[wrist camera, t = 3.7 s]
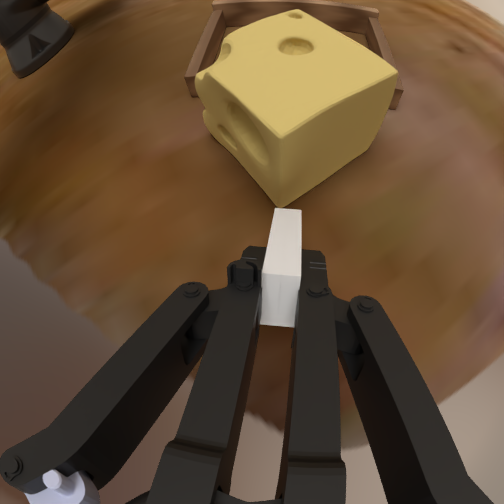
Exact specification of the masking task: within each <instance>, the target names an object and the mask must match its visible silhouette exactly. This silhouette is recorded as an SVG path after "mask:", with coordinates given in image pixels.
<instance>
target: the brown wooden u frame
mask: <svg viewBox="0 0 504 504" xmlns="http://www.w3.org/2000/svg"><path fill="white" fill-rule="evenodd" d="M212 7H213V12H212V14H211V16H210V18H209V20H208V23H207V25H206V27H205V29H204V31H203V33H202V36H201V38H200V40H199V42H198V45H197V47H196V49H195V52H194V54H193V56H192V59H191V61H190V64H189V66H188V69H187V71H186V74H185V76H184V78H185V80H186V83H187V86H188V88H189V91H190V93H191V96H192V97H199V96H198V94H197V91H196V88H195V76H196V74H197V73H199V72H201V71H203V70H205V69H207V68H208V67H210V66H212V65H213V64H214V60H215V57H216V54H217V52H218V49H219V46H220V43H221V40H222V37H223V34H224V32H225V29H226V27H231V26H247V25H249V24H251V23H254V22H256V21H258V20H261V19H264V18H267V17H270V16H274V15H277V14H280V13H284V12H287V11H291V10H295V9H299V10H301V11H303V12H305V13H307V14H309V15H310V16H312V17H314V18H316V19H317V20H319V21H321V22H323V23H324V24H326V25H328V26H329V27H331V28H333V29H335V30H341V31H348V32H355V33H361V34H365V35H366V38H367V42H368V45H369V48H370V51H372V52H373V53H375V54H376V55H378V56H379V57H381V58H382V59H384V60H385V61H386V62H388V63H389V64H390V65H391V66H392V67H394V68H395V69H396V70H397V68H396V65H395V62H394V59H393V56H392V53H391V51H390V48H389V45H388V43H387V40H386V37H385V35H384V32H383V30H382V28H381V25H380V23H379V21H378V16H379V12H378V10H377V9H374V8H369V7H364V6H358V5H352V4H346V3H339V2H331V1H321V0H218V1H214V2H213V3H212ZM403 91H404V90H403V86H402V83H401V80H400V77H399V74H398V76H397V81H396V86H395V90H394V94H393V97H392V100H391V103H390V105H389V108H388V109H393V110H395V109H396V107H397V105H398V102H399V100H400V98H401V95H402V93H403Z"/></svg>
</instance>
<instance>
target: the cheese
mask: <svg viewBox="0 0 504 504" xmlns="http://www.w3.org/2000/svg"><path fill="white" fill-rule="evenodd" d="M397 76H398V71H397V70H396V69H395V68H394V67H392V66H391V65H390V64H389V63H388V62H386V61H385V60H384V59H382V58H381V57H379V56H378V55H376V54H375V53H373V52H372V51H370V50H369V49H367V48H366V47H364V46H362V45H361V44H359V43H357V42H355V41H354V40H352V39H350V38H348V37H347V36H345V35H343V34H341V33H340V32H338V31H336V30H335V29H333V28H331V27H329V26H328V25H326V24H324V23H323V22H321V21H319V20H317V19H316V18H314V17H312V16H310V15H309V14H307V13H305V12H303V11H301V10H299V9H295V10H291V11H287V12H284V13H280V14H277V15H274V16H270V17H267V18H264V19H261V20H258V21H256V22H254V23H251V24H249V25H247V26H244V27H242V28H240V29H238V30H236V31H234V32H232V33H230V34H229V35H228V36H227V37H225V38H224V40H223V43H222V45H221V52H220V55H219V57H218V59H217V61H216V62H215V63H214V64H213V65H212V66H210V67H208V68H207V69H205V70H203V71H201V72H199V73H197V74H196V76H195V88H196V91H197V94H198V96H199V98H200V99H201V101H202V103H203V105H204V107H205V110H204V111H203V119H204V123H205V125H206V127H207V129H208V130H209V131H210V133H211V134H212V135H213V137H214V138H215V139H216V140H217V141H218V142H219V143H220V144H222V145H223V146H224V147H225V148H226V149H227V150H228V151H229V152H230V153H231V154H232V155H233V156H234V157H235V158H236V159H237V160H238V161H239V162H240V164H241V165H242V166H243V167H244V168H245V169H246V171H247V172H248V173H249V174H250V175H251V176H252V178H253V179H254V180H255V181H256V182H257V183H258V185H259V186H260V187H261V188H262V189H263V190H264V192H265V193H266V194H267V195H268V197H269V198H270V199H271V200H272V202H273V203H274V204H275V205H276V206H277V207H278V208H283V207H285V206H287V205H288V204H290V203H291V202H293V201H294V200H296V199H297V198H299V197H300V196H302V195H303V194H305V193H306V192H308V191H309V190H311V189H312V188H314V187H315V186H317V185H318V184H319V183H321V182H322V181H324V180H325V179H327V178H328V177H329V176H331V175H332V174H334V173H335V172H336V171H338V170H339V169H341V168H342V167H343V166H345V165H346V164H347V163H349V162H350V161H352V160H353V159H355V158H356V157H358V156H359V155H361V154H362V153H364V152H365V151H367V150H368V148H369V146H370V145H371V143H372V141H373V140H374V138H375V136H376V134H377V133H378V131H379V129H380V127H381V124H382V122H383V120H384V117H385V115H386V113H387V110H388V108H389V105H390V103H391V100H392V97H393V94H394V90H395V86H396V81H397Z"/></svg>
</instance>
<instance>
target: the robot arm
mask: <svg viewBox="0 0 504 504" xmlns="http://www.w3.org/2000/svg"><path fill="white" fill-rule="evenodd" d="M47 1H49V0H0V44H1V45H2V46H3V47H4V48H5V50H6V53H7V56H8V59H9V62H10V64H11V67H12V71H13V73H14V74H15V75H16V76H17V77H18V78H22V77H25V76H27V75H29V74H30V73H32V72H34V71H35V70H36V69H38V68H39V67H41V66H42V65H43V64H44V63H46V62H47V61H48V60H49V59H50V58H51V57H53V56H54V55H55V54H56V53H57V52H58V51H59V50H60V49H61V48H62V47H63V46H64V45H65V44H66V43H67V42H68V40H69V39H70V38H71V36H72V35H73V33H74V28H73V26H72V25H71V23H70V22H69V21H67V20H64V19H63V18H62V17H61V16H59V15H58V14H57V13H55V12H54V11H52V10H51V9H50V7H49V6H48V4H47ZM227 275H228V285H227V287H225V288H222V289H218V290H210V291H208V288H207V287H206V285H204V284H202V283H200V282H188V283H185V284H182V285H181V286H179V287H178V288H177V289H176V290H175V291H174V292H173V293H172V294H171V295H170V296H169V297H168V298H167V299H166V300H165V301H164V302H163V303H162V304H161V305H160V307H159V308H158V309H157V310H156V311H155V312H154V313H153V314H152V315H151V316H150V317H149V318H148V319H147V320H146V321H145V322H144V323H143V324H142V325H141V326H140V327H139V328H138V329H137V331H136V332H135V333H134V334H133V335H132V336H131V337H130V338H129V339H128V340H127V341H126V342H125V343H124V344H123V345H122V346H121V347H120V349H119V350H118V351H117V352H116V353H115V354H114V355H113V356H112V357H111V358H110V359H109V360H108V361H107V363H106V364H105V365H104V366H103V367H102V368H101V369H100V370H99V371H98V372H97V373H96V374H95V375H94V377H93V378H92V379H91V380H90V381H89V382H88V383H87V384H86V385H85V387H84V388H83V389H82V390H81V391H80V392H79V393H78V394H77V395H76V396H75V397H74V399H73V400H72V401H71V402H70V403H69V404H68V405H67V407H66V408H65V409H64V410H63V411H62V412H61V413H60V415H59V416H58V417H57V418H56V419H55V420H54V421H53V422H52V423H51V425H50V426H49V427H48V428H46V429H44V430H42V431H40V432H39V433H37V434H35V435H33V436H31V437H30V438H28V439H26V440H24V441H22V442H21V443H19V444H17V445H15V446H13V447H11V448H9V449H7V450H6V451H5V452H4V453H3V454H2V456H1V458H0V474H1V475H2V477H3V479H4V480H5V481H6V482H7V483H8V484H9V485H11V486H13V487H15V488H17V489H18V490H20V491H22V492H24V493H25V495H26V496H27V498H28V501H29V502H30V504H100V499H99V498H100V497H99V493H98V490H100V489H101V488H103V487H104V486H105V485H106V484H107V483H108V482H109V481H110V480H111V479H112V478H113V477H114V476H115V475H116V474H117V473H118V472H119V470H120V469H121V468H122V466H123V465H124V464H125V462H126V461H127V460H128V458H129V457H130V456H131V454H132V452H134V450H135V449H136V447H137V446H138V445H139V443H140V442H141V440H142V439H143V438H144V436H145V435H146V434H147V432H148V431H149V430H150V428H151V427H152V425H153V424H154V423H155V421H156V420H157V419H158V417H159V416H160V414H161V413H162V412H163V410H164V409H165V407H166V406H167V405H168V403H169V402H170V400H171V399H172V398H173V396H174V395H175V393H176V392H177V391H178V389H179V388H180V386H181V385H182V383H183V382H184V381H185V379H186V378H187V376H188V375H189V374H190V372H191V371H192V369H193V368H194V366H195V365H196V364H197V362H198V361H199V359H200V358H201V356H202V355H203V357H202V360H201V363H200V366H199V369H198V372H197V375H196V378H195V381H194V384H193V387H192V390H191V393H190V396H189V399H188V402H187V405H186V408H185V411H184V414H183V417H182V420H181V422H180V426H179V429H178V432H177V434H176V437H175V438H174V440H172V441H170V442H169V443H168V444H167V445H166V447H165V449H164V451H163V454H162V457H161V460H160V462H159V465H158V468H157V472H156V474H155V477H154V480H153V483H152V486H151V489H150V491H148V492H145V493H143V494H141V495H140V496H138V497H136V498H134V499H132V500H131V501H129V502H127V503H126V504H345V500H346V499H345V498H346V467H345V463H344V462H343V461H342V459H341V455H340V454H341V435H340V393H339V372H338V357H339V359H340V362H341V365H342V367H343V370H344V373H345V375H346V378H347V381H348V384H349V386H350V389H351V392H352V395H353V398H354V400H355V403H356V406H357V409H358V412H359V415H360V418H361V421H362V423H363V426H364V429H365V432H366V435H367V438H368V441H369V444H370V447H371V450H372V453H373V457H374V459H375V463H376V466H377V469H378V472H379V475H380V479H381V482H382V485H383V488H384V492H385V495H386V499H387V502H388V504H494V503H493V502H492V501H491V500H490V499H489V498H488V497H487V496H486V495H485V494H484V492H483V491H482V490H481V489H480V488H479V487H478V486H477V485H476V484H475V483H474V482H473V480H471V479H470V477H469V476H468V475H467V472H466V470H465V467H464V465H463V462H462V460H461V457H460V455H459V453H458V450H457V448H456V446H455V443H454V441H453V439H452V437H451V434H450V432H449V430H448V428H447V426H446V424H445V422H444V420H443V417H442V415H441V413H440V411H439V409H438V407H437V405H436V403H435V401H434V399H433V397H432V395H431V393H430V391H429V389H428V387H427V385H426V383H425V381H424V379H423V378H422V376H421V374H420V372H419V370H418V368H417V366H416V365H415V363H414V361H413V359H412V357H411V356H410V354H409V352H408V350H407V348H406V347H405V345H404V343H403V341H402V340H401V338H400V336H399V334H398V333H397V331H396V329H395V328H394V326H393V324H392V323H391V321H390V319H389V318H388V316H387V314H386V313H385V311H384V309H383V308H382V306H381V304H380V303H379V302H378V301H377V300H375V299H374V298H372V297H368V296H357V297H354V298H353V299H352V300H351V302H348V301H344V300H341V299H339V298H337V297H335V296H334V295H333V294H332V292H331V289H330V288H329V287H328V279H327V270H326V262H325V256H324V255H323V254H322V253H321V251H315V250H303V249H301V210H295V209H282V208H275V212H274V216H273V221H272V226H271V231H270V236H269V241H268V246H267V247H256V246H249V247H247V248H246V249H245V250H244V251H243V254H242V257H241V259H240V260H237V261H234V262H232V263H230V264H229V265H228V267H227ZM259 324H263V325H273V326H284V327H294V332H293V339H292V345H291V348H292V356H291V368H290V380H289V391H288V402H287V412H286V422H285V431H284V440H283V448H282V457H281V465H280V472H279V479H278V485H277V490H276V495H275V500H267V501H259V502H245V501H242V500H240V499H237V498H235V497H232V496H230V495H229V492H230V486H231V476H232V470H233V465H234V461H235V456H236V451H237V446H238V441H239V436H240V431H241V426H242V421H243V416H244V411H245V406H246V401H247V396H248V390H249V385H250V380H251V374H252V369H253V364H254V358H255V353H256V347H257V342H258V336H259ZM337 354H338V355H337Z"/></svg>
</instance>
